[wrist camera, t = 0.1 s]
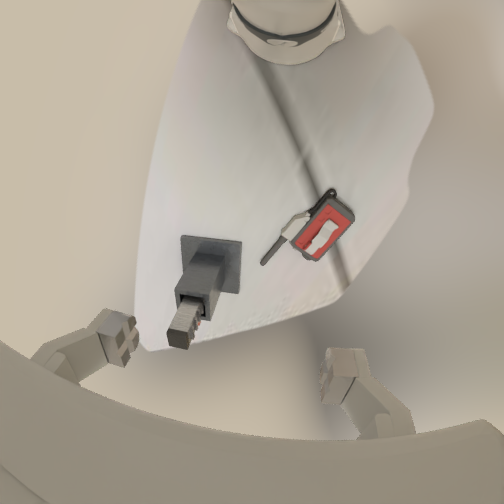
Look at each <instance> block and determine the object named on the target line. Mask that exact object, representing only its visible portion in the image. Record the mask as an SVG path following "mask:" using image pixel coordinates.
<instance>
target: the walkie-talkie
mask: <svg viewBox="0 0 504 504" xmlns="http://www.w3.org/2000/svg"><path fill="white" fill-rule="evenodd" d="M331 192H334V196H332V195H329V194H330V193H331ZM336 196H337V193H336V191H335V190H333V189H331V190H329V191H328V192H327V193H326V194H325V195H324V197H323V198H322V199H321V200H320V201H319V203H318V204H317V205H316V206H315V207H314V208H313V209H311V210H310V211H306V213H302V214H299V215H295V216H294V217H293V218H292V220H291V221H290V222H289V223H288V224H287V226H286V227H285V228H283V229H282V231H281V235H282V236H281V237H280V238H279V240H278V242H277V243H276V244H275V245H274V246H273V248H272V249H271V250H270V251H269V252H268V254H267V255H266V256H265V257H264V258H263V260H262V261H261V262H260V264H261V265H262V266H264V265H265V264H266V263H267V262H268V261H269V259H270V258H271V257H272V256H273V255H274V254H275V252H276V251H277V250H278V249H279V248H280V247H281V245H282V244H283V243H285V242H286V241H287V240H289V241H290V244H291V245H292V246H293V249H294V250H298V251H300V252H301V253H302V255H303V257H304V258H305V259H306V260H313V261H315V262H316V261H319V260H320V258H321V257H322V256H323V255H324V254H325V253H326V252H327V251H328V250H329V249H330V248H331V247H332V246H333V244H334V243H335V242H336V241H337V240H338V239H339V238H340V237H341V235H343V233H344V232H345V231H346V230H347V229H348V228H349V227H350V226H351V224H353V222H355V216H354V214H353V212H352V211H351V210H350V209H348V208H347V207H346V206H345V205H343V204H342V203H341V202H340V201H338V200H337V199H336Z"/></svg>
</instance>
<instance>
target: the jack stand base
mask: <svg viewBox="0 0 504 504" xmlns="http://www.w3.org/2000/svg"><path fill="white" fill-rule="evenodd" d="M181 252H182V264H183V275H182V277H181V278H180V280H179V282H178V284H177V286H176V287H175V289H174V290H175V297H176V304H177V310H178V308H179V306H180V304H181V302H182V300H183V298H184V296H185V295H190V296H196V297H202V298H205V307H204V314H201V320H207V321H211V318H212V315H213V313H214V310H215V307H216V304H217V301H218V298H219V295H220V293H221V292H227V293H234V294H239V285H240V263H241V242H237V241H228V240H219V239H211V238H202V237H193V236H184V235H182V236H181ZM200 323H201V322H198V326H199V325H200Z"/></svg>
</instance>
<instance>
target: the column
mask: <svg viewBox="0 0 504 504" xmlns="http://www.w3.org/2000/svg"><path fill="white" fill-rule="evenodd" d="M204 307H205V298H202V297H196V296H190V295H185V296H184V298H183V300H182V302H181V304H180V306H179V308H178V310H177V312H176V314H175V316H174V318H173V320H172V322H171V324H170V326H169V329H168V331H167V338H168V342H169V346H172V347H177V348H182V349H186V350H187V349H188V348H189V345H190V343H191V340H192V339H193V340H194V337H195V335H194V332H195V330H197V329H198V322H201V314H204Z"/></svg>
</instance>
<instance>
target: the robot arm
mask: <svg viewBox="0 0 504 504" xmlns="http://www.w3.org/2000/svg"><path fill="white" fill-rule="evenodd" d="M231 4H233V6H232V9H231V12H230V15H229V18H228V21H227V27H228V29H229V30H230V31H231V32H233V33H235V34H236V35H238V36H240V37H241V38H242V39H243V40H244V42H245V43H246V45H247V46H248V47H249V48H250V50H251V51H253V52H254V53H255V54H256V55H258V56H259V57H261V58H262V59H264V60H267V61H269V62H272V63H276V64H282V65H295V64H301V63H304V62H307V61H310V60H312V59H314V58H316V57H317V56H318V55H320V54H321V53H322V52H323V51H324V50H325V49H326V48H327V47H328V46H329V45H330V44H333V43H336V42H339V41H341V40H342V39H344V37H345V28H344V23H343V18H342V14H341V9H340V5H339V0H231ZM136 324H137V323H136V319H135V317H134V316H132V315H128V314H124V313H121V312H118V311H113V310H110V309H107V308H106V309H103V310H102V311H101V312H100V313H99V314H98V316H97V317H96V318H95V319H94V320H93V321H92V322H91V324H90V325H89V326H88V327H87V328H86V329H85V328H82V329H80V330H77V331H75V332H72V333H70V334H67V335H65V336H62V337H59V338H57V339H55V340H52V341H50V342H47V343H44V344H43V345H42V346H41V347H40V348H39V350H38V351H37V352H36V353H35V354H34V355H33V357H32V358H31V359H28V358H26V357H25V356H23V355H21V354H20V353H18V352H17V351H15V350H14V349H12V348H10V347H9V346H8V345H6V344H5V343H3V342H2V341H0V504H504V435H503V434H502V433H501V432H500V431H499V430H498V429H497V428H495V427H494V426H493V425H492V424H491V423H489V422H487V421H486V420H483V419H481V420H476V421H472V422H468V423H465V424H461V425H457V426H453V427H449V428H445V429H440V430H435V431H430V432H425V433H418V434H416V431H415V427H414V423H413V420H412V416H411V413H410V410H409V409H408V408H407V407H406V406H405V405H403V404H402V403H401V402H400V401H399V400H398V399H397V398H396V397H395V396H394V395H393V394H392V393H391V392H390V391H388V390H387V389H386V388H385V387H384V386H383V385H382V384H381V383H380V382H379V381H378V380H377V379H376V378H372V377H371V373H370V369H369V365H368V361H367V358H366V354H365V351H364V349H349V348H331V347H328V349H327V351H326V354H325V355H326V359H325V360H324V361H323V362H322V365H321V368H320V376H319V380H320V383H321V385H322V388H321V391H320V396H321V403H322V404H339V405H341V407H342V408H343V410H344V411H345V413H346V414H347V415H348V417H349V418H350V419H351V421H352V422H353V424H354V425H355V426H356V428H357V429H358V430H359V432H360V433H361V435H360V436H359V437H358V438H357V439H356V440H337V441H336V440H335V441H334V440H333V441H332V440H328V441H327V440H295V439H281V438H270V437H261V436H253V435H246V434H239V433H233V432H226V431H221V430H216V429H211V428H206V427H201V426H197V425H192V424H188V423H184V422H180V421H176V420H173V419H169V418H165V417H162V416H158V415H155V414H152V413H149V412H146V411H142V410H139V409H136V408H134V407H130V406H128V405H125V404H122V403H119V402H117V401H114V400H112V399H109V398H107V397H104V396H102V395H99V394H97V393H95V392H92V391H90V390H87V389H85V388H83V387H81V385H80V384H79V382H80V381H81V380H83V379H85V378H86V377H88V376H89V375H91V374H93V373H94V372H96V371H98V370H99V369H101V368H102V367H104V366H106V365H107V364H108V363H110V364H114V365H117V366H120V367H125V366H126V364H127V362H128V361H129V359H130V358H131V357H130V353H131V352H133V351H135V349H136V348H137V346H138V343H139V332H138V330H137V329H136V328H135V325H136Z"/></svg>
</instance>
